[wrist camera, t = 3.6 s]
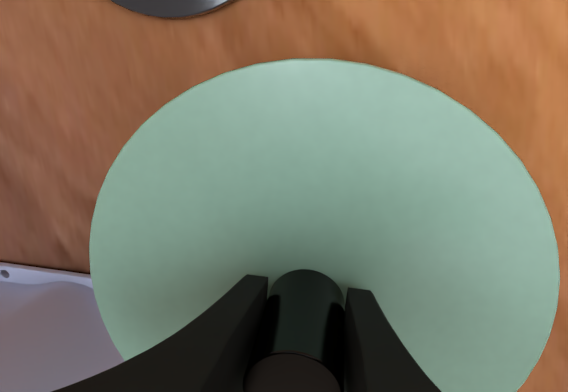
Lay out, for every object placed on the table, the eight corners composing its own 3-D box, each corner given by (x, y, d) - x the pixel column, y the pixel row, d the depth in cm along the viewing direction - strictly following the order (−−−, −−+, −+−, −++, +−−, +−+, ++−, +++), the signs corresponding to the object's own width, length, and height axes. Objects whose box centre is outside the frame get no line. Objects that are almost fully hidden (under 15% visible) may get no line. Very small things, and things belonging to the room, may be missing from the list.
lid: (122, 407, 16) (45, 534, 12) (87, 40, 11) (-62, 38, 7) (482, 469, 15) (536, 638, 11) (610, 77, 10) (801, 101, 6)
